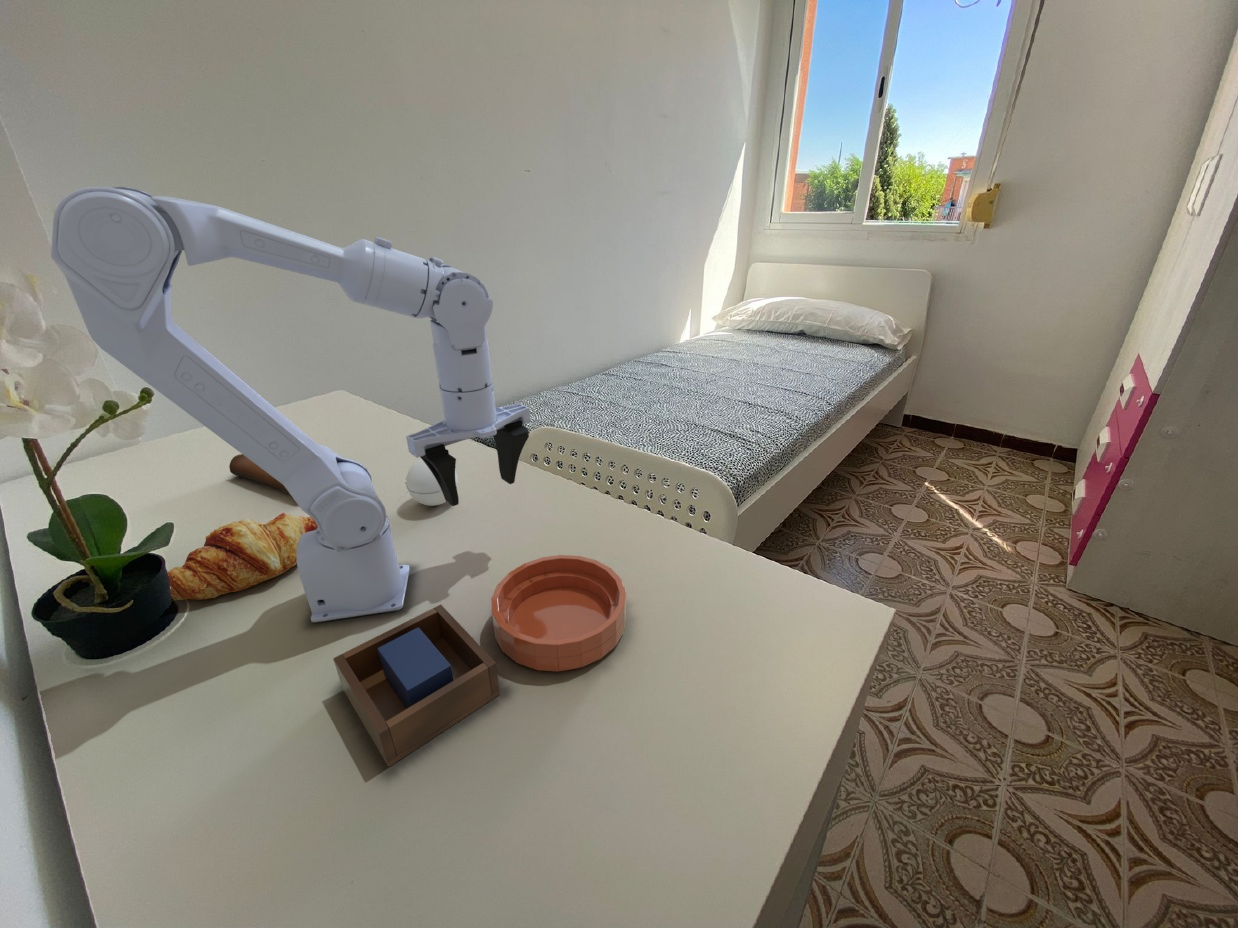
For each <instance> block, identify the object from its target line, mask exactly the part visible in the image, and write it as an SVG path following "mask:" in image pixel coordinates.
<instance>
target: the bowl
mask: <svg viewBox="0 0 1238 928" xmlns="http://www.w3.org/2000/svg"><path fill="white" fill-rule="evenodd" d="M490 600H491V602H490V603H491V616H492V617H491V618H492V624H493V631H494V638H495V640H496V642H497V644H498V645H499V647H500V649H501V652H503V654H505V655H506V656H508V657H509V658H510V659H511V660H513V661H514V662H515V663H517V664H519V665H521V666H524V667H527V668H530V669H533V670H536V671H545V672H546V671H547V672H564V671H569V670H574V669H580V668H583V667H585V666H588V665H590V664H592V663H595V662H597V661H599V660H601V659H603V657H605V656H606V655H607V654H608V653H609V652H611V651H612V650H613V649H614V648H615V647H616V646H617V645H618V643H619V641H620V640H621V638H622V636H623V634H624V633H625V629H626V619H627V591H626V588H625V585H624V582H623V580H622V578H621V577H620V576H619V575H618V574H617V573H616V572H615V571H614V569H612V568H611V567H609V566H608V565H606V564H604V563H603V562H601V561H599V560H596V559H593V558H589V557H586V556H582V555H571V554H570V555H569V554H557V555H551V556H550V555H549V556H542V557H539V558H537V559H533V560H529V561H527V562H524V563H523V564H521V565H519V566H518V567H516V568H515V569H513V570H510V572H508V573H507V574H506V575H505V576H504V577H503V578H502V579H501V580H500V581H499V582H498V583H497V585H496V587H495V589H494V592H493V594H492V596H491V599H490Z"/></svg>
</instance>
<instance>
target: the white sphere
mask: <svg viewBox="0 0 1238 928" xmlns="http://www.w3.org/2000/svg"><path fill="white" fill-rule="evenodd" d="M455 481H456V487H457V488H458V485H459V476H458V473H457V470H456V469H455ZM405 488H406V489H407V492H405V493H404V494H403V495H402V496H401V495H400V497H399V498H398V501H399V499H401V498H403V497H404V496H405V495H406V494H408V493H409V495H410V496H411V498H413V500H414V501H415V502H417V503H418V504H422V505H424V506H427V507H428V506H429V507H433V506H439V505H442V504H445V503H448V502H447V501H446V500H445V498H444V495H443V492H442V490H441V488H440V486H439V484H438V482H437V480H436V478H435V477H434V475H433V474H432V472H431V471H430V469H429V468H428V466H427V465H426V464H425V462H424V461H423V460H422V459H421V458H420V459H418V460H416V461H415V462H414V463H413V464H412V465H411V466H410V467H409V468H408V471H407V473H406V477H405Z"/></svg>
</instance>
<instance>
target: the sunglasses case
mask: <svg viewBox="0 0 1238 928" xmlns="http://www.w3.org/2000/svg"><path fill="white" fill-rule="evenodd" d="M228 467H229V468H228V469H229V472H230V473H231V474H232V475H234V476H237V477H239V478H244V479H248V480H250V481H251V480H252V481H255V482H257V483H259V484H262V485H265V486H268V487H271V488H274V489H276V490H277V491H281V492H283V493H286V494H289V495H291V494H290V493H289V492H288V490H287V489H286V488H285V486H284V485H283V484H282V483H280V482H279V481H278V480H276V479H275V478H274V477H272V476H271V475H270V474H268V473H267V472H266V471H264V470H263V469H262V468H260V467H259V466H258V465H256V464H255V463H254V462H252V461H251V460H250V459H248V458H247V457H246V456H244V455H243V454H242V453H240V454H236V455H235V456H233V457H232V458H231V459H230V462H229V466H228Z"/></svg>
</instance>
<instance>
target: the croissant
mask: <svg viewBox="0 0 1238 928" xmlns="http://www.w3.org/2000/svg"><path fill="white" fill-rule="evenodd" d="M317 528H318V526H317V524H316V522H315V521H314V519H313V518H312V517H311V516H303V515H298V516H297V515H296V516H294V515H292V514H287V513H284V512H282V513H281V514H279V515H277V516H275V517H274V518H273V519H269V520H268V521H267V522H266V523H263V522H258V521H257V522H256V521H255V520H253V519H242V520H239V521H232V522H231V523H227V524H224V525H221V526H219V527H217V528H216V529H214V530H213V531H211V532H210V533H209V534H208V535H206V536H205V541H204V544H203V546H201V547H198V548H195V550H192V551H190V552H189V553H188V554H187V557H186V558H185V562H184V564H183V565H182V566H176V567H172V569H170V570H168V571H167V572H166V573H168V576H169V579H170V587H171V596H172V597H173V600H172V601H180V600H182V601H184V600H198V601H199V600H209V599H215V598H217V597H220V596H221V595H226V594H228V593H235V592H240V591H243V590H247V589H250V588H252V587H255V586H256V585H258V584H261V583H263V582H266V581H268V580H270V579H274V578H276V577H278V576H280V575H282V574H284V573H286V572H287V571H288V570H290V569H291V568H293V567H294V566H297V546H298V542H299V539H300V537H301V535H302V534H304V533H306V532H310V531H314V530H317Z"/></svg>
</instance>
